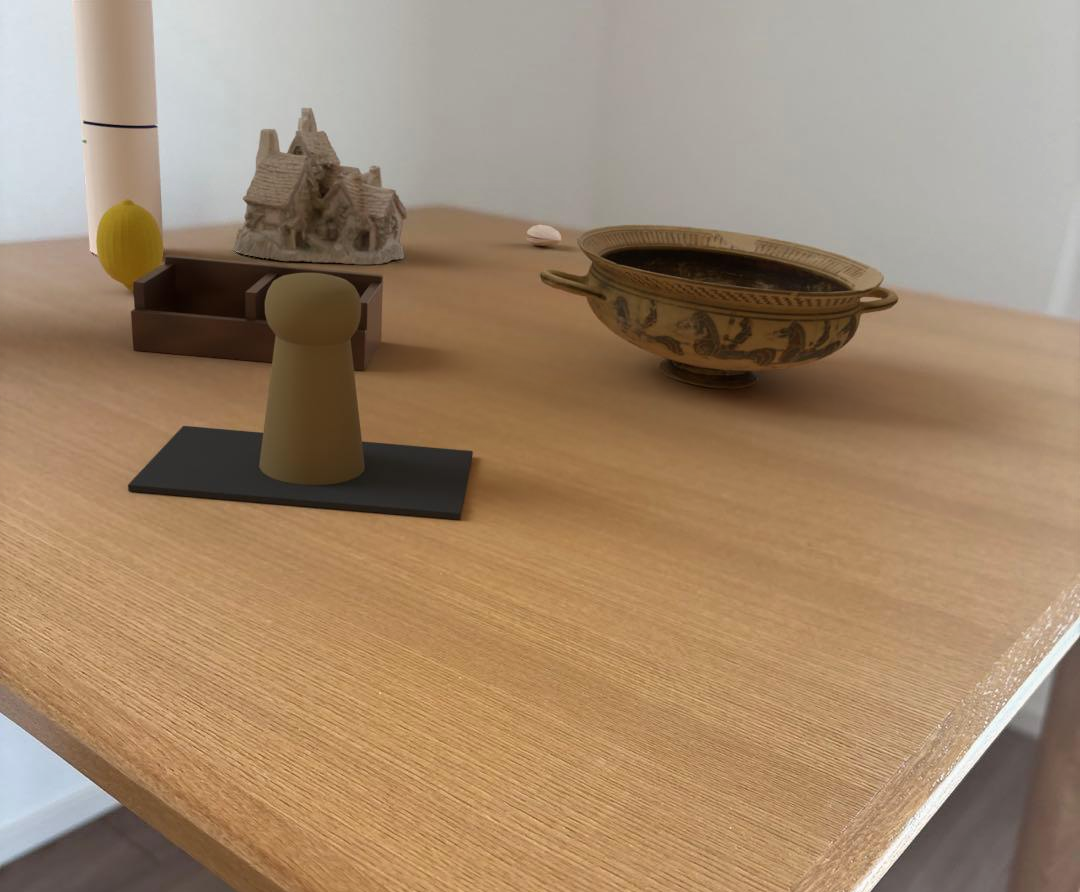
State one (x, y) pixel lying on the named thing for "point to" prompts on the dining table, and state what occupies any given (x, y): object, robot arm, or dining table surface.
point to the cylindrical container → (117, 106)
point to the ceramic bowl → (722, 299)
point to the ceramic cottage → (317, 205)
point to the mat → (384, 486)
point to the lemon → (128, 243)
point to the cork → (312, 382)
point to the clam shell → (543, 235)
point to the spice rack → (232, 309)
